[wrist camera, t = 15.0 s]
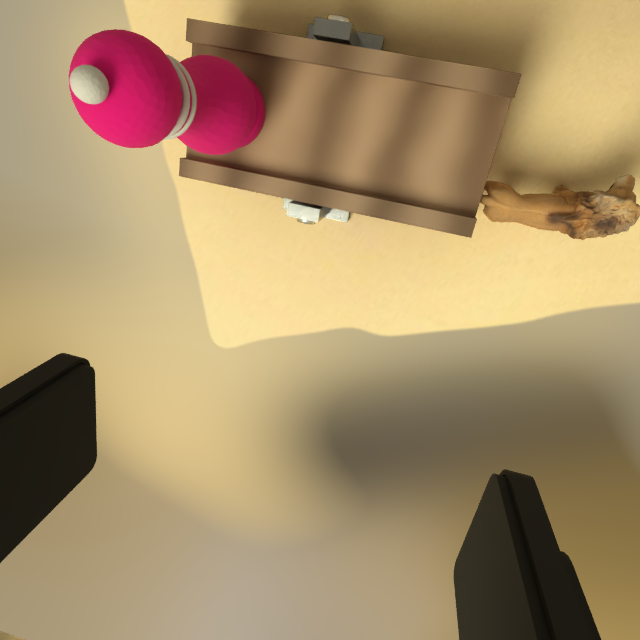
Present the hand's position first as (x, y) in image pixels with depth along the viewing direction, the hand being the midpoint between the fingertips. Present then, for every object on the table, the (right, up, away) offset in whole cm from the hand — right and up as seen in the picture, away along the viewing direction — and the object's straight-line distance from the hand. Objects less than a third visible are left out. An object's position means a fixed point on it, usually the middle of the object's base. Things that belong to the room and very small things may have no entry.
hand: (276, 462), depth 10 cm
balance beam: (+3, +20, +30) cm, 36 cm away
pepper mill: (-7, +22, +30) cm, 38 cm away
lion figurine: (+22, +15, +34) cm, 43 cm away
